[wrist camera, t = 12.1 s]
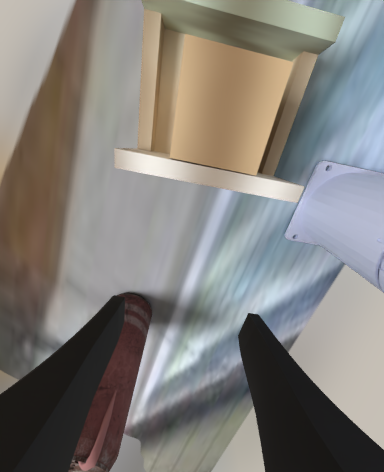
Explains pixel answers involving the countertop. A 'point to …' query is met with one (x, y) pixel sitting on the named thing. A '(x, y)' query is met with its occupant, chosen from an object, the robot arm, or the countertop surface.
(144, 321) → the can
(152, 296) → the countertop surface
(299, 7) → the wooden cubby shelf
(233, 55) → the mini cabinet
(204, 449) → the countertop surface
